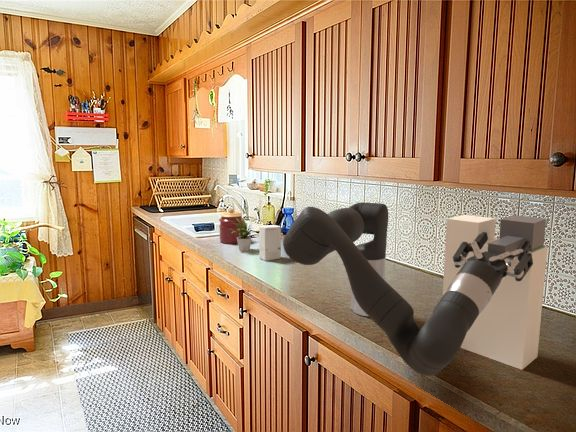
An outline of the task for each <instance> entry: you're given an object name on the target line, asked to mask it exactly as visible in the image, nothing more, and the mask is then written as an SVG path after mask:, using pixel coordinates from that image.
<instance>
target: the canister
mask: <svg viewBox="0 0 576 432" xmlns="http://www.w3.org/2000/svg"><path fill="white" fill-rule="evenodd" d="M242 216H243V214H242V213H240V212H239V211H235V210H234V208H229V209H228V211H225V212H222V214H220V217H221V218H219V219H218V221H219V227H218V228H219V243H223V244H228V245H229V244H234V245H235V244H238V241H237V237H240V236H241V235H239V233H240V232H239V230H237V229H239V227H238V226H237V225H236V224H238V225H239V222H238V220H239V221H240V223H241V219H243V220H244V221H245V219H244V218H243V217H242ZM236 218H237V219H238V220H237V219H236ZM232 221H233V222H232ZM234 222H235V223H234ZM233 223H234V224H233ZM241 226H242V225H241ZM237 227H238V228H237ZM233 230H234V231H238V232H233ZM232 232H233V233H232Z"/></svg>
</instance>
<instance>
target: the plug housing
mask: <svg viewBox="0 0 576 432" xmlns="http://www.w3.org/2000/svg"><path fill="white" fill-rule="evenodd" d="M546 223H547V218H544V217H535V216H534V217H533V216H525V215H517V214H513V215H510V216H507V217H504V218H501V219H500V222H499V237H498V238H497V239H498V240H495V241H493V242H490V243H488V252H490V253H498V254H503V253H505V252H508V251H509V252H513V251H515V250H517V248H518V246H519V245H520V243H521V242H522V240H523V238H527V239H528V241H530V247H531V248H530V250H534V249H536V248H538V247H540V246H542V245H545V236H546Z"/></svg>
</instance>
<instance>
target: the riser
mask: <svg viewBox="0 0 576 432" xmlns="http://www.w3.org/2000/svg"><path fill="white" fill-rule="evenodd" d="M496 220H497V218H496V217H495V218H493V217H487V216H480V215H479V216H478V215H470V214H462V215H458V216H453V217H449V218H446V228H445V229H446V230H445V243H444V245H445V247H444V264H443V265H444V266H443V281H442V282H443V283H442V296H443V295H444V294H445V292H446V290H447V288H448V286H449V285H450V283H451V282H452V280H453V279H454V277H455V276H456V275H457V273H458V272H459V270H460V269H461V268H462V266H460V267H459V268H456V267H455V265H454V262H453V256H454V254H455V253H456V251H457V250H458V248H459V246H460V245H461V243H462V242H467V243H471V242H473V241H474V240H475V239H476V238H477V236H478V235H479V234H482V232H486V233H487V236H488V240H487V242H486V243H485V244H484V246H483V247H482V249H481V250H480V251H481V253H482V252H485V251H486V252H488V243H490V242H493V241H495V240H498V239H499V238H496V237H495V235H496V234H495V233H496V222H497V221H496ZM528 253H531V254H532V259H533V265H532V266H531V268H530V269H529V271H528V272H527V273H526V275H525V276H524V278H523V279H522V280H521V281H516V280H515V277H512V276H508V275H507V276H505V277H504V278H502V280H501V282H500V284H499V286H498V288H497V289H496V291H495V293H494V294H493V296H492V297H491V299H490V301H489V302H488V304H487V305H486V307H485V308H484V309H483V311H482V312H481V313H480V314H479V315H478V317H477V318H476V320H475V321H474V323H473V325H472V326H471V328H470V329H469V330H468V332H467V333H466V336H465V338H464V341H463V343H462V345H461V347H460V349H463V350H466V351H468V352H471V353H474V354H477V355H479V356H482V357H486V358H488V359H490V360H494V361H497V362H499V363H501V364H505V365H507V366H510V367H513V368H516V369H519V370H521V371H522V370H524V369H525V368H526V367H527V366H528V365H529V364H531V363H533V361H534V360H535V359H536V360H537V358H538V356H539V355H538V353H539V342H540V330H541V320H542V310H543V299H544V288H545V280H546V266H547V257H548V256H547V255H548V245H547V246H546V245H545V244H544V245H542V246H540V247H538V248H536V249H534V250H529V252H528ZM472 256H474V254H473V252H469V253H468V255H467V257H466V258H465V260H466V259H468V258H470V257H472ZM515 258H517V256H516V257H514V259H515ZM504 260H505V262H506V263H507V262H508V261H507V259H504ZM516 265H517V264H516Z"/></svg>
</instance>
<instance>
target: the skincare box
mask: <svg viewBox="0 0 576 432" xmlns="http://www.w3.org/2000/svg"><path fill="white" fill-rule="evenodd" d="M258 229H259V230H258V232H259V235H258V236H259V239H258V240H259V241H258V243H259V249H258V250H259V252H258V253H259V259H261V260H263V261H265V262H267V261H273V260H279V259H281V258H282V257H281V256H282V253H281V252H282V249H281V248H282V243H281V242H282V240H281V239H282V238H281V237H282V228H281V226H280V225H276V224H270V225H269V224H268V225H260V226H259V228H258Z"/></svg>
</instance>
